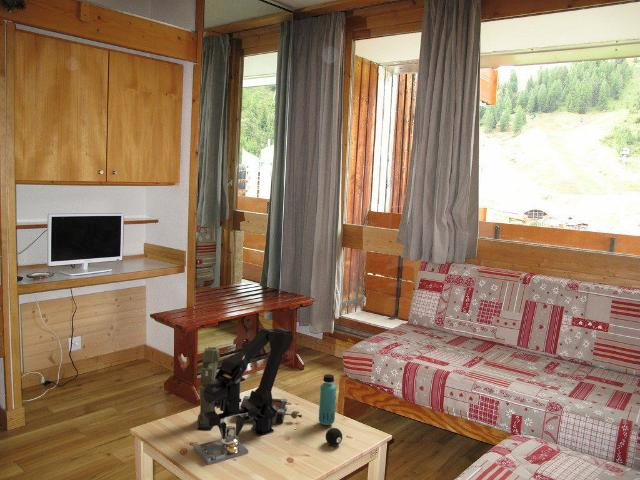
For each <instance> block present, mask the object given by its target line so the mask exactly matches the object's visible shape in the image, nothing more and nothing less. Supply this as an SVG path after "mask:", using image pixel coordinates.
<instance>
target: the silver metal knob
mask: <svg viewBox="0 0 640 480" xmlns="http://www.w3.org/2000/svg"><path fill="white" fill-rule="evenodd" d="M221 439H222V441H221V443H222V444H225V445H226V446H229V445H230V444H231V443H234V444H235V445H237V444H238V443H239V442H240V439H239V435H238V436H236V426H234V425H226V435H225V439H223V438H222V437H221Z"/></svg>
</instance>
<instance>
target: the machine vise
mask: <svg viewBox="0 0 640 480" xmlns="http://www.w3.org/2000/svg"><path fill="white" fill-rule="evenodd" d="M249 398H250V395H244V396H243V398H242V400H241V402H240V405H239V408H241V405H243V404H247V403H249V401H248V400H249ZM272 399H273V401H272V407H273V408H274V409H275V410H276V411H277V412H276V416H275V417H273V419H272V425H275V424H284V421H285V416H290V417H291V418H292V419H293V420H294V419H297V417H298V418H300V419H302V416H303V414H299V413H300V411H299V410H298V411H297V410H293V411H292V412H291V413H286V412H287V410H288V406H286V405H287V404H288V398H272ZM248 417H249V420H247V421H246V423H247V422H248V423H253V419H254V416H253V417H250V416H249V415H248Z"/></svg>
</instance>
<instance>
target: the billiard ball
mask: <svg viewBox="0 0 640 480" xmlns="http://www.w3.org/2000/svg"><path fill="white" fill-rule="evenodd" d="M325 441H326V442H327V444H329V446H333V447H334V446H339V445H340V444H341V443H342V441H343V433H342V431H341V430H340V429H339V428H337V427H330V428H329V429H328V430H327V431H326V433H325Z"/></svg>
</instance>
